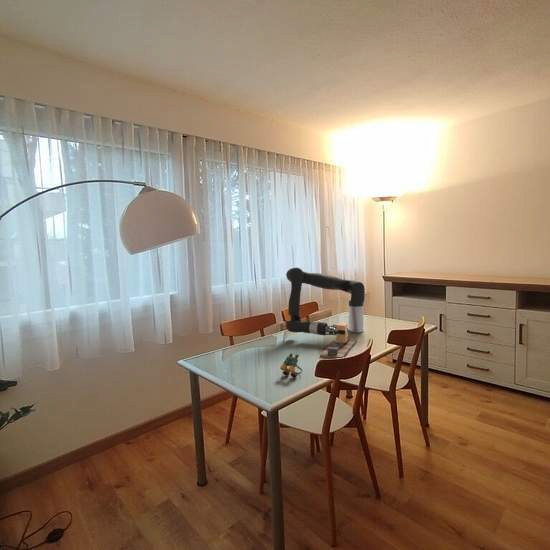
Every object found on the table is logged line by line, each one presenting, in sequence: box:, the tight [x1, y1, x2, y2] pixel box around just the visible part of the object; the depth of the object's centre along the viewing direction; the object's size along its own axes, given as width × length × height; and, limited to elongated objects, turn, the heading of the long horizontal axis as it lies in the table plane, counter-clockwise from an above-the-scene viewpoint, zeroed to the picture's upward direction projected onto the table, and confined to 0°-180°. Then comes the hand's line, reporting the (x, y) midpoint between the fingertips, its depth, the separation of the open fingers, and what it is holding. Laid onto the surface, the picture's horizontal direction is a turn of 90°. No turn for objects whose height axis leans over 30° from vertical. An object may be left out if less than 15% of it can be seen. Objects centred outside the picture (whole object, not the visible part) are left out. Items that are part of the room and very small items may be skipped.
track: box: [319, 335, 357, 359], centre depth 182 cm, size 30×12×4 cm, turn 152°
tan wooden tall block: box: [335, 322, 349, 343], centre depth 186 cm, size 5×5×10 cm
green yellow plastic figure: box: [279, 352, 303, 378], centre depth 150 cm, size 9×9×10 cm
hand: (346, 331), depth 185 cm, fingers closed on tan wooden tall block, 5 cm apart
